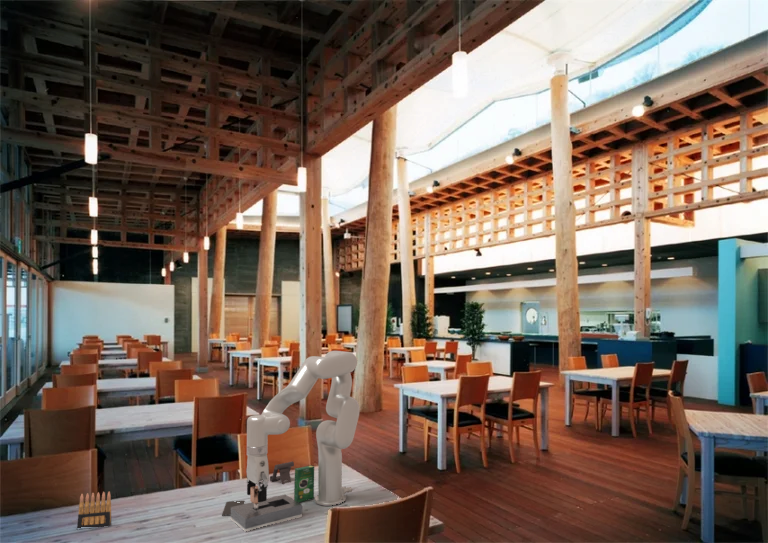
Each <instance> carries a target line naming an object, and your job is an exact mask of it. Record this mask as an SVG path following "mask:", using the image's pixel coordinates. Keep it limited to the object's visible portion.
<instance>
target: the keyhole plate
mask: <svg viewBox="0 0 768 543" xmlns="http://www.w3.org/2000/svg"><path fill="white" fill-rule="evenodd" d="M302 517H303V504H302V503H301V502H299V503H298V502H297V501H295V500H294V498H292V497H291V496H288V495H287V494H282V495H277V496H273V497H269V498H267V500H266V501H264V502H259V503H258V510H254V503H252V502H251V501H250V502H248V503H245V504H243V505H238V506H234V507H231V516H230V520H231V521H232V522H233V524H235V523H236V524H237V525H238V526H237V525H236V524H235V525H236V526H237V527H239V528H240V529H241V528H242V529H243V530H244V531H243V530H242V529H241V530H242V531H243V532H244V533H247V532H251V531H254V530H253V529H255V530H257V529H256V528H259V529H261V528H260V527H262V528H264V527H263V526H266V527H268V526H267V525H270V526H272V525H271V524H273V525H276V524H275V523H277V524H281V523H284V522H283V521H285V522H288V521H291V519H292V520H295V518H296V519H299V518H302ZM287 520H288V521H287ZM280 522H281V523H280ZM250 530H251V531H250ZM246 531H247V532H246Z"/></svg>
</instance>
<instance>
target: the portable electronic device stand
mask: <svg viewBox="0 0 768 543" xmlns="http://www.w3.org/2000/svg"><path fill="white" fill-rule="evenodd" d="M294 466H295V463H294V461H292V460H291V461H289V462H283V463H280V464H278V463H277V464H275V465H274V467H273V468H274V469H273V472H272V475H271V476H270V475H269V482H271V481H272V482H277V481H281V482H280V483H281V485H285V482H286V481H287V483H288V482H290V483H292V480H291V479H292V477H291V469H292V467H294ZM278 472H279V476H277V475H278ZM280 479H281V480H280Z"/></svg>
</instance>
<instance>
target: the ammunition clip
mask: <svg viewBox="0 0 768 543" xmlns="http://www.w3.org/2000/svg"><path fill="white" fill-rule="evenodd" d="M100 494H101V493H100V492H99V491H98V492H97V494H96V498H95V493H94V492H92V493H91V497H90V495H89V493H88V492H87V493H86V496H85V498H84V494H83V493H81V495H80V497H79V504H78V515H77V525H76V529H77V528H81V527H98V528H105V527H104V526H108V527H110V526H112V501H111V500H112V499H111V497H112V496H111V491H107V495H106V492H105V491H102V495H100ZM84 499H85V500H84ZM84 501H85V502H84Z"/></svg>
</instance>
